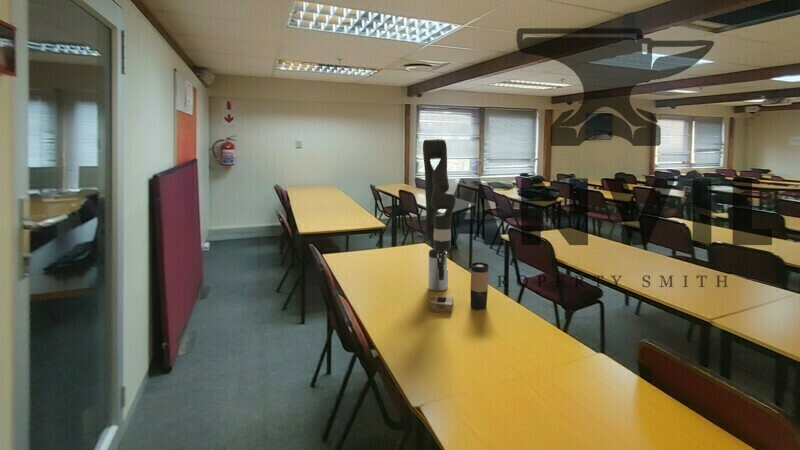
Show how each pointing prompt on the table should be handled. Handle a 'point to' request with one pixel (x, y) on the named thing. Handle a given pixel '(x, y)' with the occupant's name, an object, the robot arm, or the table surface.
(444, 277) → the pin
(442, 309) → the slot block
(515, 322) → the table surface
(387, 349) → the table surface
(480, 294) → the travel mug
